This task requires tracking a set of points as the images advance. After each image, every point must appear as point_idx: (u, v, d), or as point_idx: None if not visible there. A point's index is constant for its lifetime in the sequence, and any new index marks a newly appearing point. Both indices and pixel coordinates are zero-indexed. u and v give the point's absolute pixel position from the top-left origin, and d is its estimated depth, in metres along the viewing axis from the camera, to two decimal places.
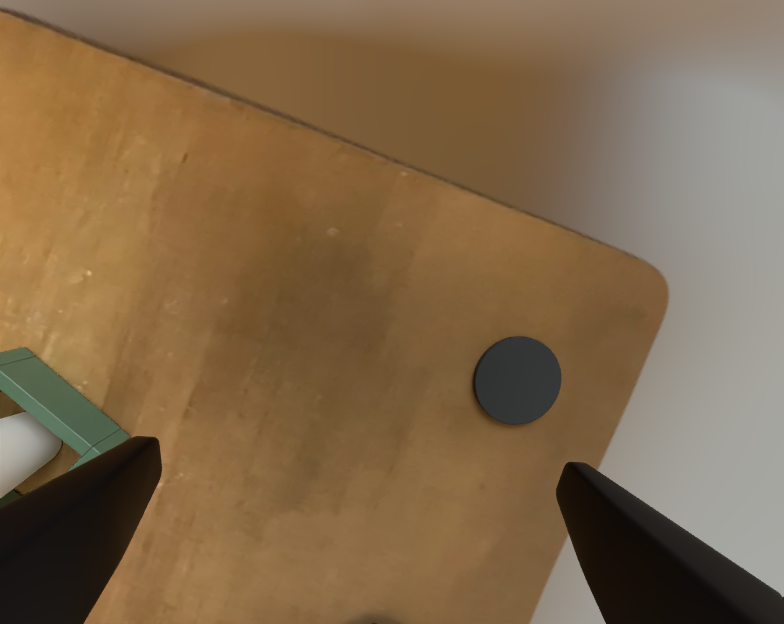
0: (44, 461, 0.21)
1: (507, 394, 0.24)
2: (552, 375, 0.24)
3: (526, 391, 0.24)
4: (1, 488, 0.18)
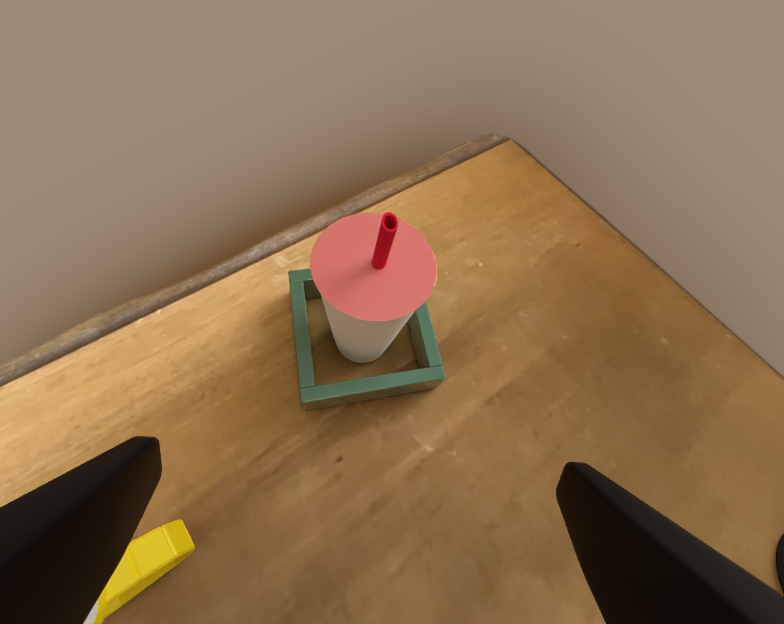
0: (376, 356, 0.22)
1: None
2: None
3: None
4: (391, 340, 0.19)
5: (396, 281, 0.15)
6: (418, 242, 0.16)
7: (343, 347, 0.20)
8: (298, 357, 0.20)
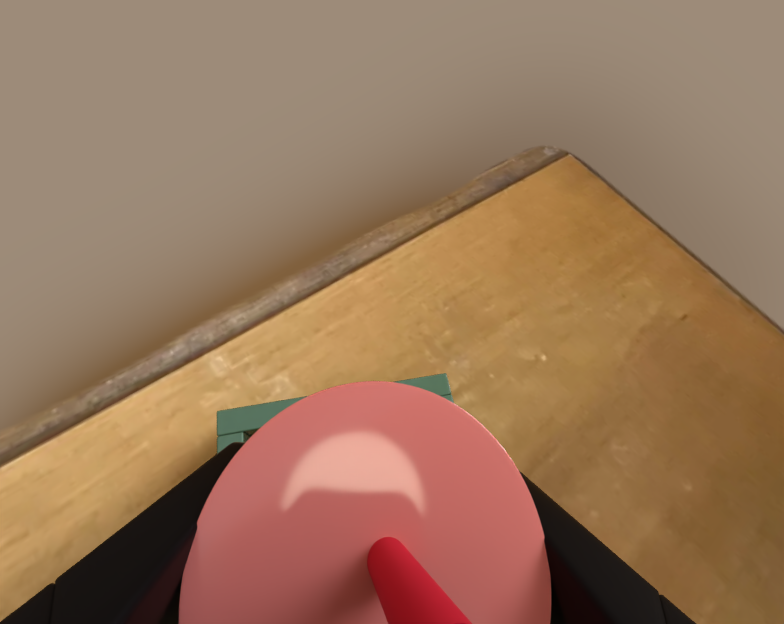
0: None
1: None
2: None
3: None
4: None
5: None
6: (491, 469, 0.06)
7: None
8: None
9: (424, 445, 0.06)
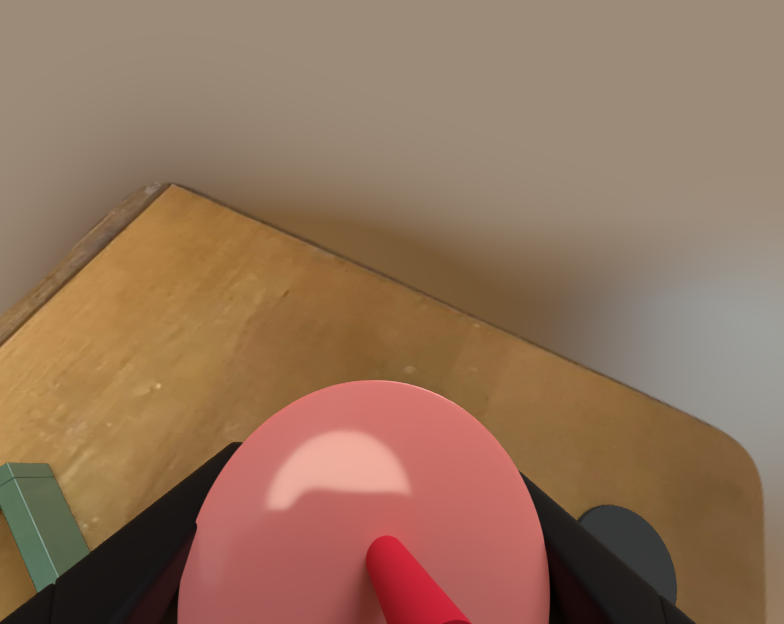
0: None
1: None
2: (662, 563, 0.20)
3: None
4: None
5: None
6: (490, 467, 0.06)
7: None
8: None
9: (423, 444, 0.06)
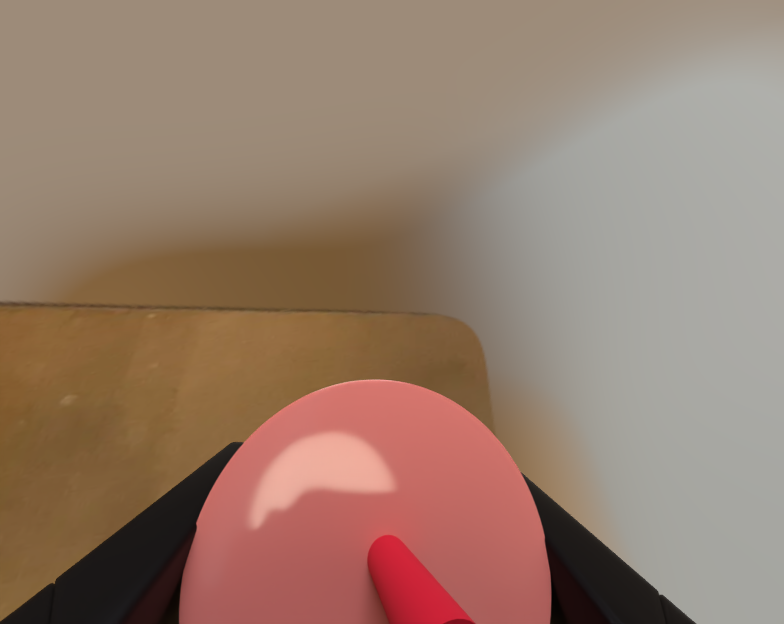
0: None
1: None
2: None
3: None
4: None
5: None
6: (491, 467, 0.06)
7: None
8: None
9: (424, 443, 0.06)
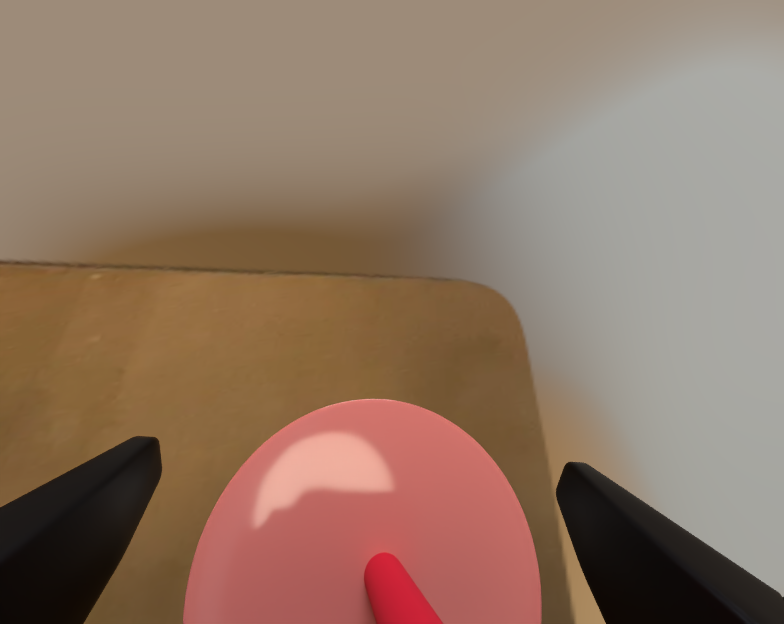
0: None
1: None
2: None
3: None
4: None
5: None
6: (485, 487, 0.06)
7: None
8: None
9: (421, 463, 0.06)
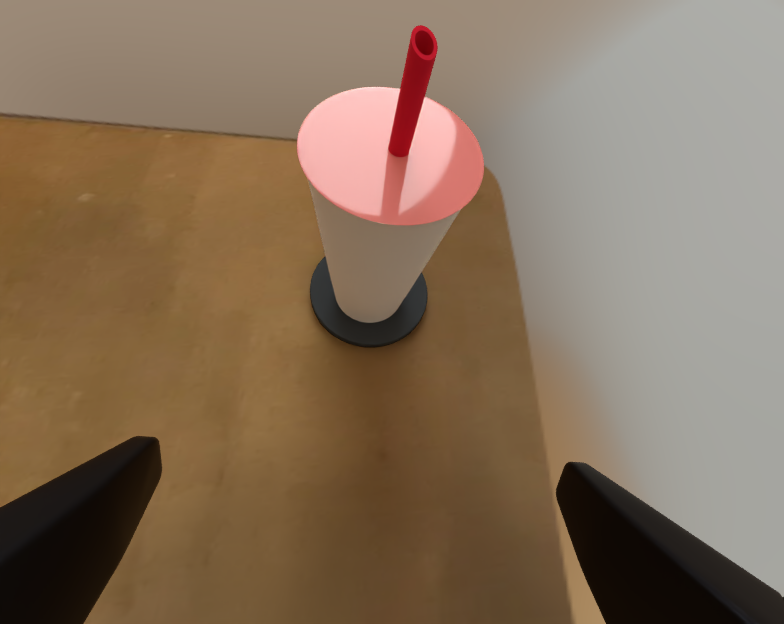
0: (388, 312, 0.17)
1: None
2: None
3: None
4: (409, 282, 0.14)
5: (425, 174, 0.10)
6: (455, 126, 0.11)
7: (344, 296, 0.15)
8: None
9: None
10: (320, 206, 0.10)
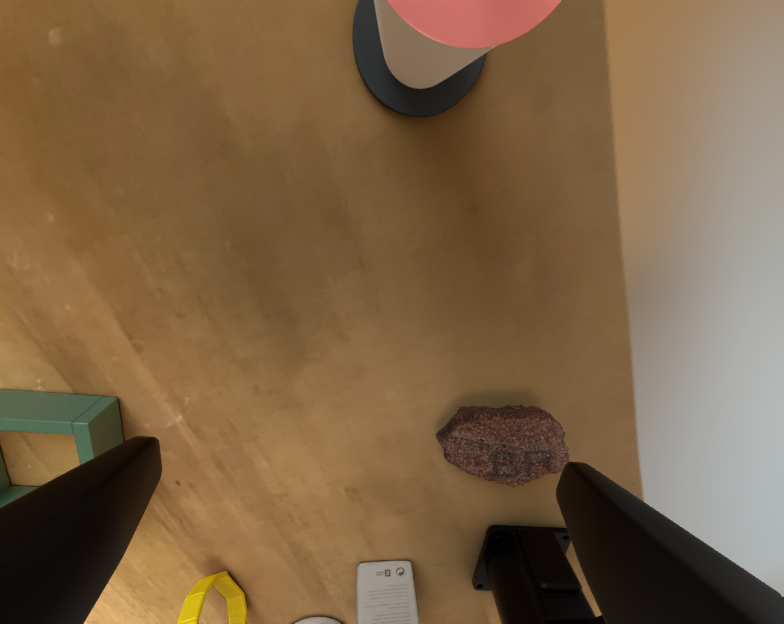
0: None
1: None
2: None
3: None
4: None
5: None
6: None
7: (412, 78, 0.14)
8: None
9: None
10: (405, 28, 0.09)
